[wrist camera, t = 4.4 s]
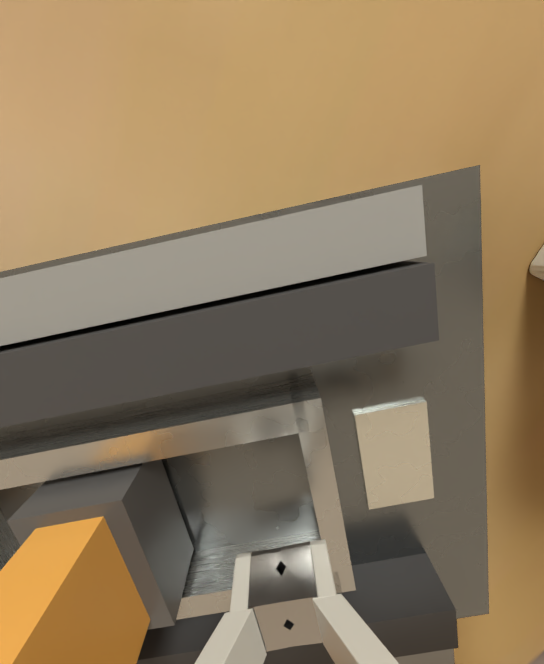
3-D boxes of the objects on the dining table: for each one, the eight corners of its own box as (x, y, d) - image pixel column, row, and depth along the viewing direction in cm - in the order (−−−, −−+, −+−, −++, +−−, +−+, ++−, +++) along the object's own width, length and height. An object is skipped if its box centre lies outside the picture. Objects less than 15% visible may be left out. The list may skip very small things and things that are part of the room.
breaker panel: (446, 178, 12) (529, 144, 8) (465, 574, 18) (519, 663, 14) (-224, 327, 13) (-425, 358, 9) (-5, 651, 19) (-74, 752, 15)
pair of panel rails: (393, 196, 10) (429, 181, 8) (432, 617, 16) (460, 679, 14) (-230, 334, 11) (-356, 356, 9) (10, 684, 17) (-31, 752, 15)
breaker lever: (155, 442, 13) (25, 663, 6) (193, 548, 14) (126, 819, 7) (65, 460, 13) (-160, 694, 6) (113, 563, 14) (-24, 839, 8)
